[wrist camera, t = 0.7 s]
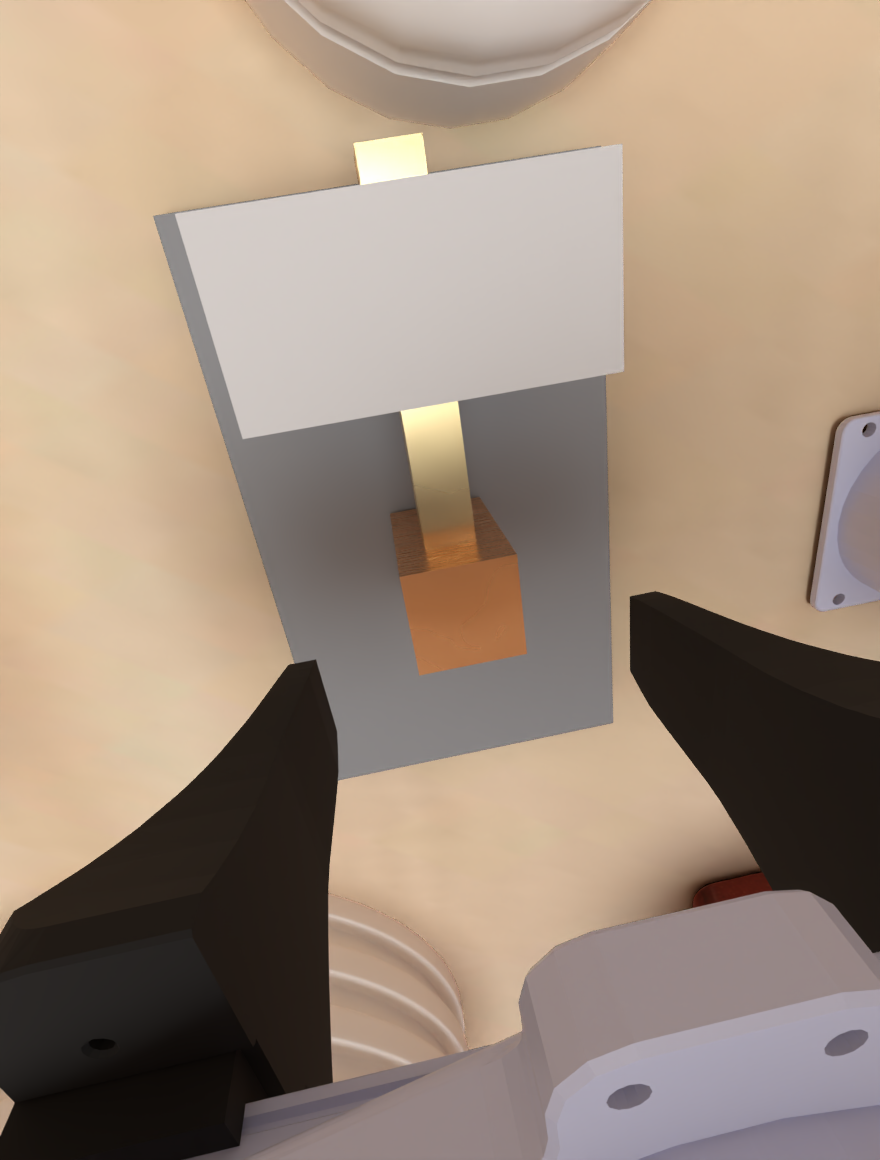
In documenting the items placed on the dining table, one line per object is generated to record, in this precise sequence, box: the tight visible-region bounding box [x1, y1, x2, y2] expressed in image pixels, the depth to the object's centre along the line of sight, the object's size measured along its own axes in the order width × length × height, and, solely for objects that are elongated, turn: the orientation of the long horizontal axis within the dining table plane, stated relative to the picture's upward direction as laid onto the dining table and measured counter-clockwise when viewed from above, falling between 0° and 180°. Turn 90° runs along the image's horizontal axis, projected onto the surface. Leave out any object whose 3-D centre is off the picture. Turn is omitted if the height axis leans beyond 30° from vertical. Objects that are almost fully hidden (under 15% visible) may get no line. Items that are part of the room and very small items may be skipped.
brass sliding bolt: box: [354, 133, 527, 676], centre depth 15 cm, size 3×12×5 cm, turn 8°
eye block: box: [153, 144, 624, 780], centre depth 17 cm, size 12×20×7 cm, turn 9°
